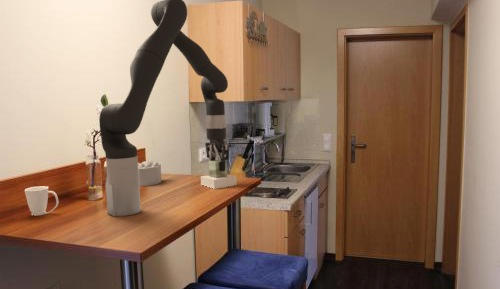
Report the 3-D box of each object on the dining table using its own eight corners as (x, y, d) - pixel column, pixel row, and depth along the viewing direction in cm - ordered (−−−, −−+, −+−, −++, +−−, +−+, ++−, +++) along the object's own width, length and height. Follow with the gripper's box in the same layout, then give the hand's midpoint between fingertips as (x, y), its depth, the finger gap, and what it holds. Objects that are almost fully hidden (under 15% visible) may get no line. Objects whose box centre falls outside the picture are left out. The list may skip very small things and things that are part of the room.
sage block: (216, 177, 171) (215, 162, 170) (209, 176, 175) (208, 161, 174) (227, 176, 174) (226, 160, 173) (220, 174, 178) (219, 159, 177)
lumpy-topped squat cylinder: (163, 179, 191) (162, 159, 190) (156, 185, 178) (154, 164, 177) (139, 180, 192) (138, 160, 191) (130, 186, 179) (128, 165, 178)
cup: (34, 211, 144) (31, 186, 143) (64, 210, 143) (62, 185, 142) (21, 217, 137) (19, 191, 136) (53, 216, 136) (51, 190, 135)
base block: (214, 189, 168) (214, 179, 168) (201, 185, 176) (200, 176, 176) (236, 185, 174) (236, 176, 173) (222, 181, 182) (222, 173, 181)
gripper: (198, 126, 176) (200, 169, 178) (217, 128, 164) (219, 173, 166) (214, 125, 180) (216, 167, 182) (234, 126, 169) (236, 171, 171)
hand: (218, 170), depth 174 cm, fingers open, 6 cm apart
